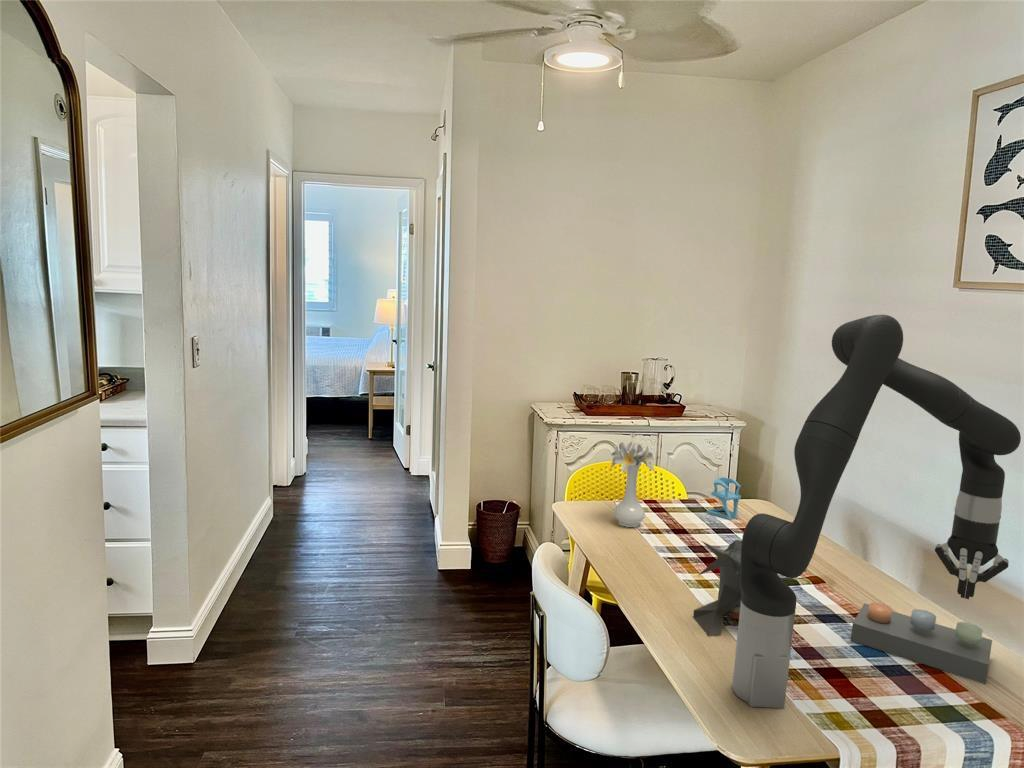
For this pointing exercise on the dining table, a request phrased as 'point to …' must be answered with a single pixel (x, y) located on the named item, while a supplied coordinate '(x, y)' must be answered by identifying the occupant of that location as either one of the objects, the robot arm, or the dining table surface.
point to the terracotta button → (879, 612)
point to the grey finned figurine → (722, 590)
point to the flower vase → (631, 482)
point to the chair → (725, 498)
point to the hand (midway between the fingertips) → (964, 596)
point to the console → (923, 644)
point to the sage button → (968, 633)
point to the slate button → (923, 619)
